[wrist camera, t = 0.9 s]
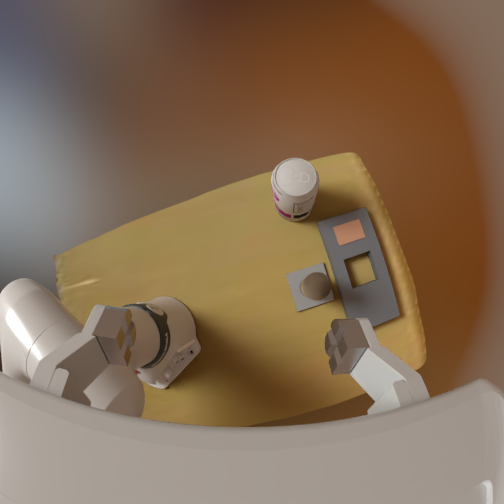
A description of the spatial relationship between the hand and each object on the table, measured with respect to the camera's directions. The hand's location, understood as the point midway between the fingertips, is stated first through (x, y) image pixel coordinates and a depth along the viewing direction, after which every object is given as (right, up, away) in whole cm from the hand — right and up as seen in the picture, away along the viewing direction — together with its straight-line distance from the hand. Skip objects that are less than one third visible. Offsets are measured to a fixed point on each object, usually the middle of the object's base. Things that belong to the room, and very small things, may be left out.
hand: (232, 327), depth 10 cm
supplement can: (+10, +13, +48) cm, 50 cm away
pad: (+13, -4, +45) cm, 47 cm away
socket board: (+23, -1, +44) cm, 49 cm away
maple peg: (+13, -4, +44) cm, 46 cm away
